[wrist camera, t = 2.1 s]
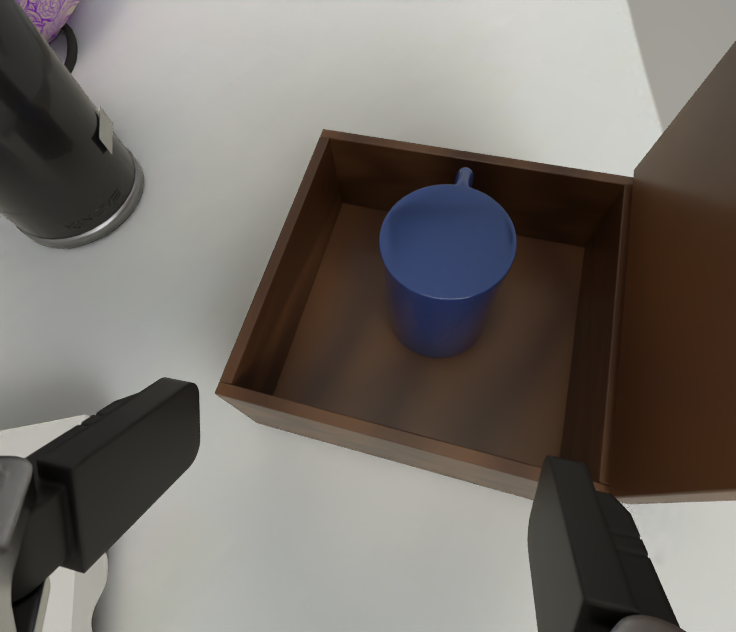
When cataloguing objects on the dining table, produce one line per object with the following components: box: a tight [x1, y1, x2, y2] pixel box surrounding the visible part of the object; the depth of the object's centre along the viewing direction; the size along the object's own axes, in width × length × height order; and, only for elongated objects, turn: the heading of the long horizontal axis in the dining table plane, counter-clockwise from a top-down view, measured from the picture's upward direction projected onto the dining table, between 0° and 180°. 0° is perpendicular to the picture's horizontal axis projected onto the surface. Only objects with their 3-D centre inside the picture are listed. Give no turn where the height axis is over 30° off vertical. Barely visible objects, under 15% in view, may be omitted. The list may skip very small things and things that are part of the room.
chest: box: [215, 129, 633, 500], centre depth 26 cm, size 17×16×7 cm
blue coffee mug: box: [379, 167, 517, 358], centre depth 26 cm, size 9×6×8 cm
